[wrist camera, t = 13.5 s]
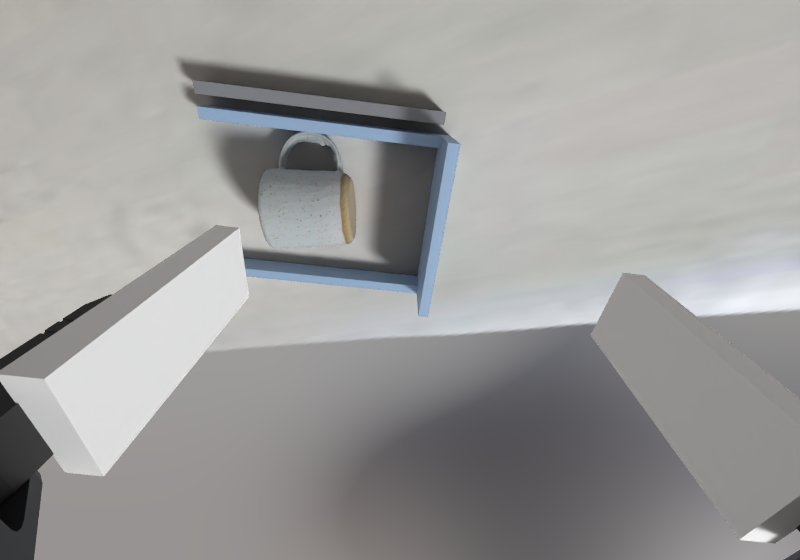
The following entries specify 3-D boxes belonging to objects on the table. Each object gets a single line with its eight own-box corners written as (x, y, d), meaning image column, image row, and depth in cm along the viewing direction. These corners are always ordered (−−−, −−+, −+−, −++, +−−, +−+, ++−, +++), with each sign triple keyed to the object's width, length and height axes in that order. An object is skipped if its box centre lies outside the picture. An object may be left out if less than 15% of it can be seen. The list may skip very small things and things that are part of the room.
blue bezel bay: (449, 135, 32) (460, 144, 26) (424, 283, 40) (427, 316, 34) (211, 105, 31) (164, 107, 25) (235, 264, 39) (204, 295, 33)
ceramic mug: (361, 231, 37) (351, 259, 30) (289, 233, 37) (264, 261, 31) (352, 129, 32) (338, 136, 25) (270, 131, 32) (234, 138, 26)
